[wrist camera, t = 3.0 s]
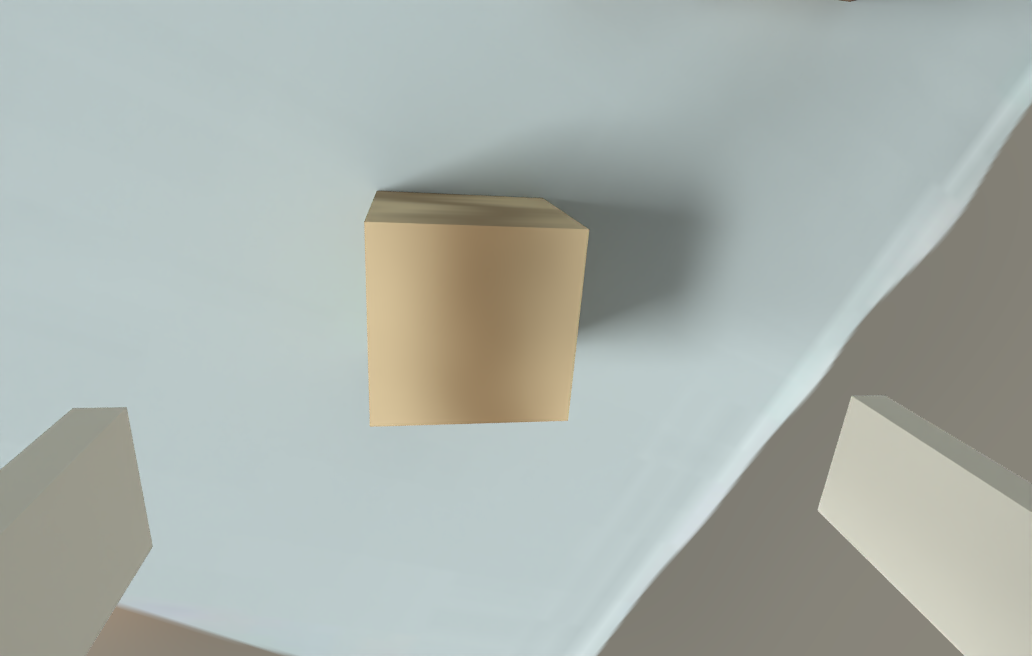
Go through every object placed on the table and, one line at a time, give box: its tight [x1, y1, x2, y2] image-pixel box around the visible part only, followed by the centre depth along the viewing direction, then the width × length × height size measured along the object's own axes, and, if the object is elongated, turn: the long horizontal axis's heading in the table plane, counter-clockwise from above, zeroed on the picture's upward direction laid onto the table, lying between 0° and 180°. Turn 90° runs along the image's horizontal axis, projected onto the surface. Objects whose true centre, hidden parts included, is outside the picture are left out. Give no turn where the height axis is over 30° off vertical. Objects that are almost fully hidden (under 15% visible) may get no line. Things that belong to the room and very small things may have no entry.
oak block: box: [364, 191, 589, 427], centre depth 19 cm, size 6×6×6 cm
